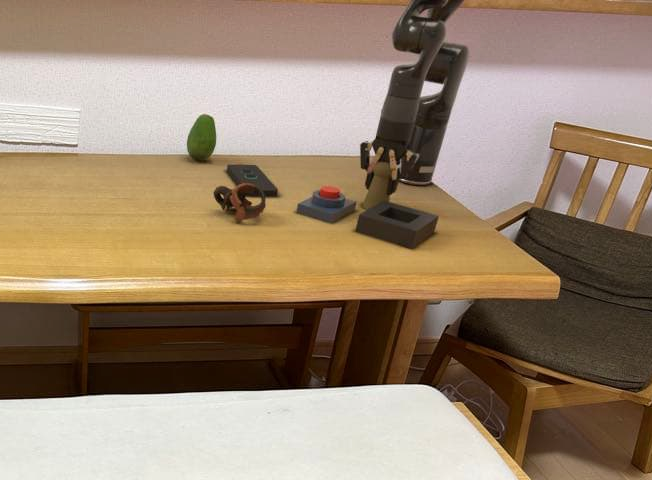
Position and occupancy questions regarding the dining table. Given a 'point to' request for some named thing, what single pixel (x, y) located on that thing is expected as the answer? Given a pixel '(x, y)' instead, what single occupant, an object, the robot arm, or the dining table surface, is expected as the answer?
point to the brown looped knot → (240, 200)
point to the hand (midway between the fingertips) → (379, 191)
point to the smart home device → (252, 179)
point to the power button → (329, 192)
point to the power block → (326, 207)
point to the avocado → (202, 138)
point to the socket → (397, 224)
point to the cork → (378, 185)
